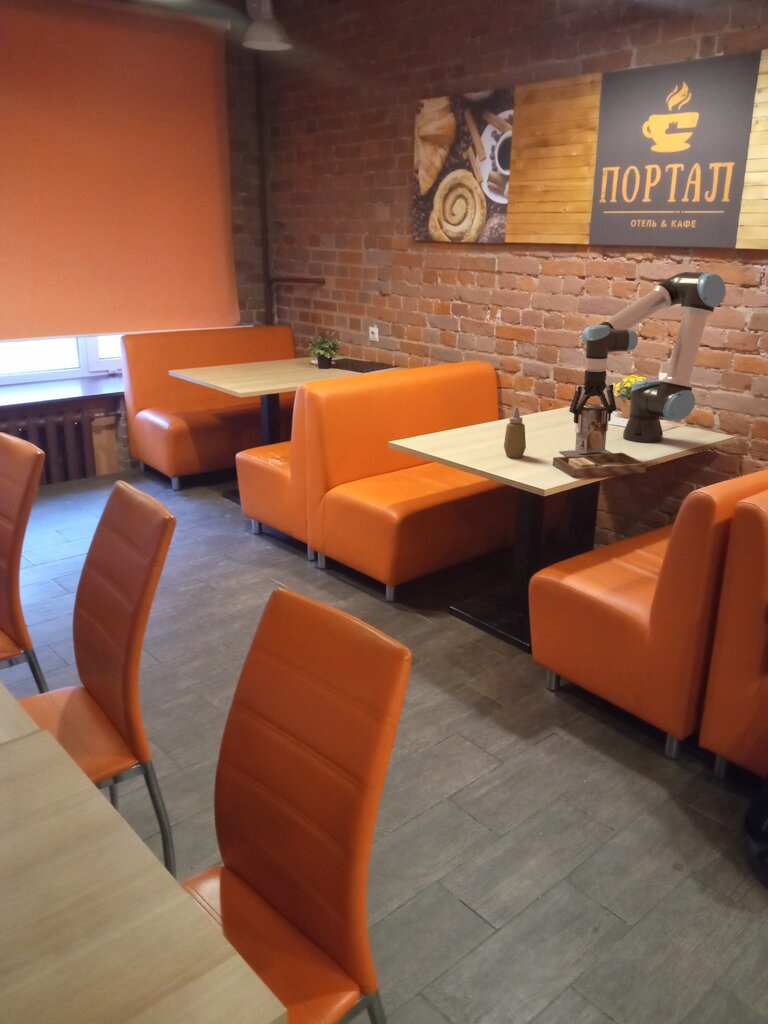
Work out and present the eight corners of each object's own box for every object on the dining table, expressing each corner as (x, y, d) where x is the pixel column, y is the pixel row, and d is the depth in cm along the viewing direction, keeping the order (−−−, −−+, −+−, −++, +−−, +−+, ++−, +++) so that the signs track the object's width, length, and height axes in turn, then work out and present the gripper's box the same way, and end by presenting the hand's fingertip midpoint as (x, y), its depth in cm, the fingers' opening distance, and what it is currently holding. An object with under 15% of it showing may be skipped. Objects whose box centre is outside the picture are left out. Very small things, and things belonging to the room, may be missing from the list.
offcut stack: (583, 467, 288) (584, 457, 287) (596, 474, 279) (597, 464, 278) (567, 468, 286) (568, 458, 285) (580, 475, 278) (581, 465, 276)
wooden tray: (621, 460, 295) (622, 452, 294) (645, 472, 279) (646, 464, 278) (552, 465, 289) (553, 457, 288) (573, 477, 274) (573, 469, 273)
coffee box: (593, 447, 306) (596, 404, 301) (605, 450, 301) (609, 407, 296) (574, 450, 302) (577, 407, 297) (586, 453, 297) (589, 410, 292)
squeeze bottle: (501, 454, 305) (502, 406, 300) (522, 453, 306) (524, 405, 300) (506, 459, 298) (508, 410, 292) (528, 458, 298) (530, 409, 293)
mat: (603, 449, 310) (603, 448, 310) (620, 458, 298) (620, 456, 298) (559, 452, 306) (559, 451, 306) (574, 461, 294) (574, 459, 294)
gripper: (619, 367, 298) (614, 427, 305) (561, 369, 293) (558, 430, 300) (630, 370, 291) (624, 431, 298) (570, 372, 286) (567, 435, 293)
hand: (591, 431), depth 299 cm, fingers closed on coffee box, 10 cm apart
